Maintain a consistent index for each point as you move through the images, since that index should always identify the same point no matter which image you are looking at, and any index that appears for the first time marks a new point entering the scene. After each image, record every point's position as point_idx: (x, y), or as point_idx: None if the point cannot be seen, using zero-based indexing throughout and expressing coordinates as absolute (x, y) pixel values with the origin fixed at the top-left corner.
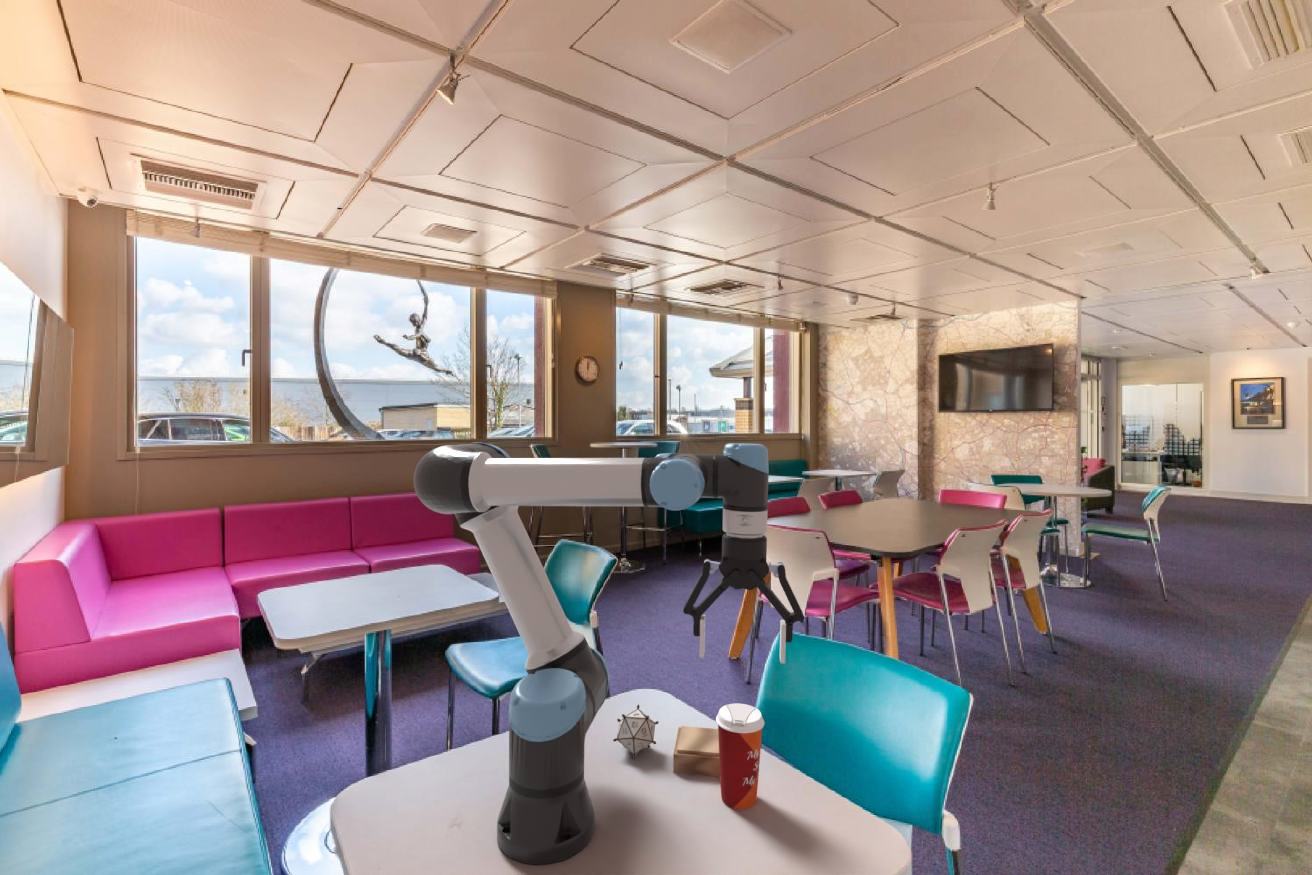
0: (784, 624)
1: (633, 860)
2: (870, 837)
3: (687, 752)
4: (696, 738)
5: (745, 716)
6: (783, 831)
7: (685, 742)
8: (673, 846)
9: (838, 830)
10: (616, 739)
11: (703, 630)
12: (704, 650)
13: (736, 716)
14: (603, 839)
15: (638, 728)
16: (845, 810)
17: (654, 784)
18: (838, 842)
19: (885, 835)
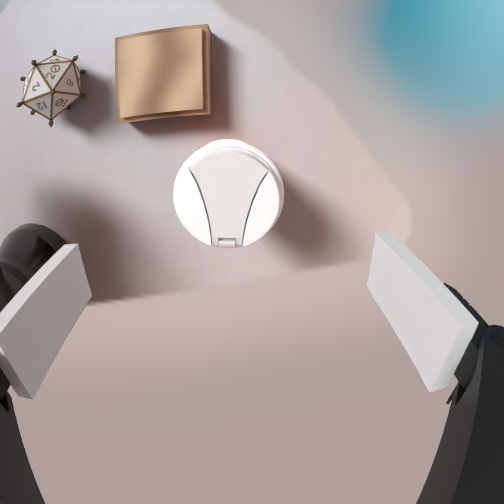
0: (443, 385)
1: (130, 294)
2: (389, 215)
3: (138, 115)
4: (148, 72)
5: (241, 217)
6: (291, 222)
7: (130, 91)
8: (162, 269)
9: (358, 209)
10: (33, 112)
11: (49, 363)
12: (76, 259)
13: (220, 221)
14: (91, 272)
15: (49, 108)
16: (376, 168)
17: (109, 159)
18: (353, 230)
19: (406, 210)
